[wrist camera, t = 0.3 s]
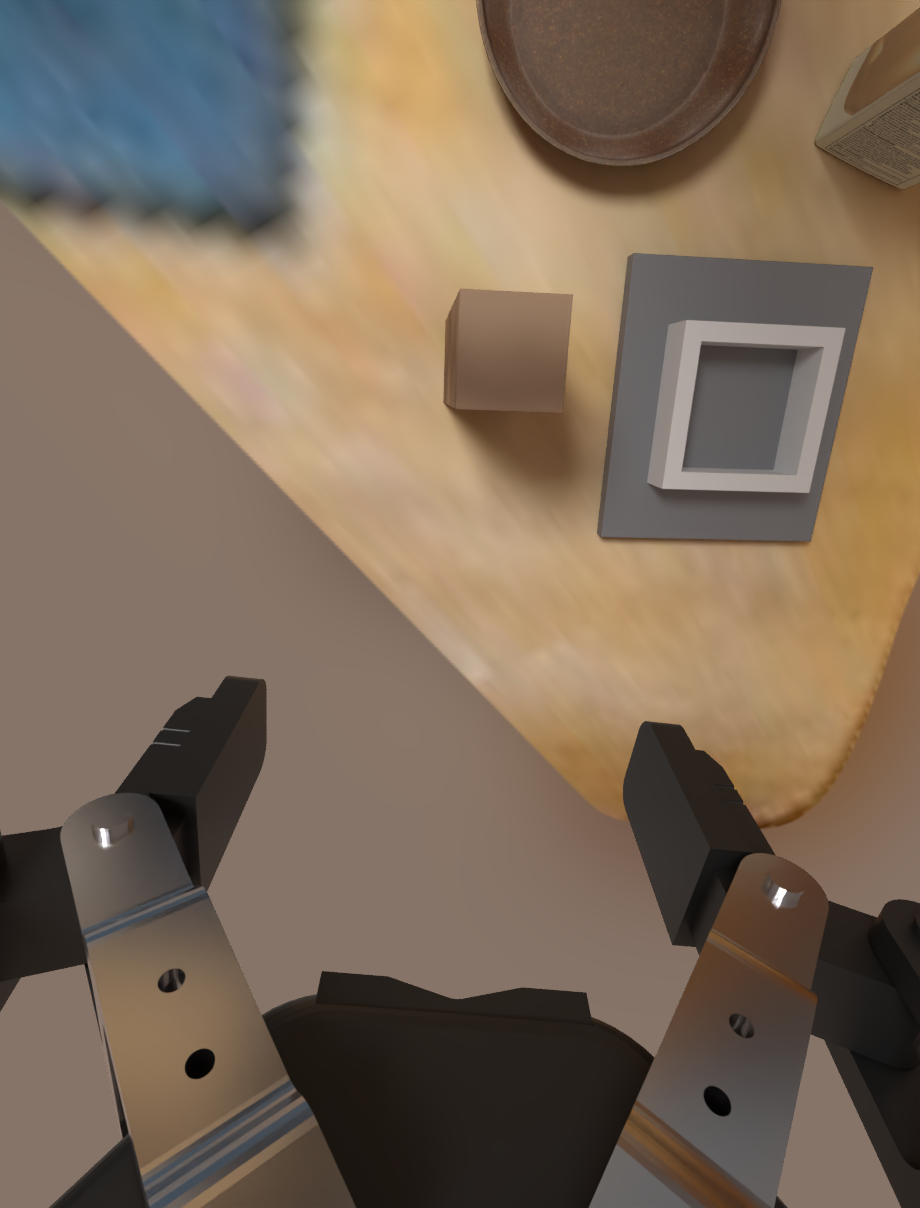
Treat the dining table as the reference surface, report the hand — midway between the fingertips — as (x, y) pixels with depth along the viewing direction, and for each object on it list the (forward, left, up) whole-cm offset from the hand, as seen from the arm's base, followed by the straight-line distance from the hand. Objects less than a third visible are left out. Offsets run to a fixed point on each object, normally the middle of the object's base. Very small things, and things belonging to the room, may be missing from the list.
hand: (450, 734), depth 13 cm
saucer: (-25, +9, -28) cm, 39 cm away
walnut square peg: (-8, +3, -27) cm, 29 cm away
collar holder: (-6, +18, -27) cm, 33 cm away
